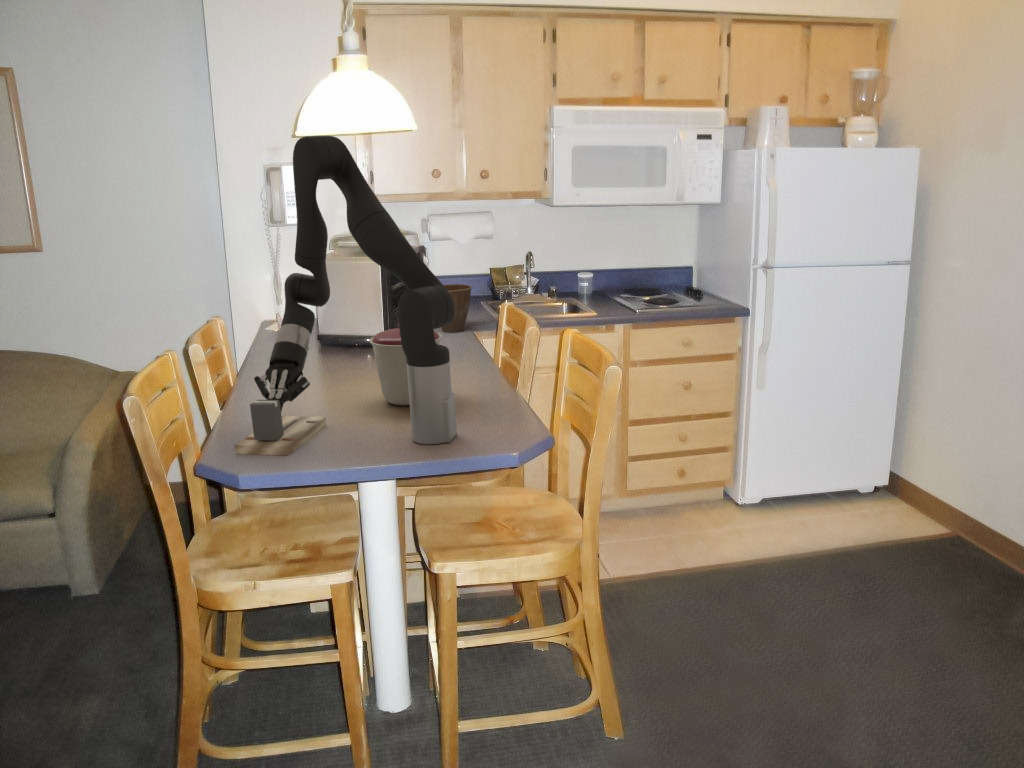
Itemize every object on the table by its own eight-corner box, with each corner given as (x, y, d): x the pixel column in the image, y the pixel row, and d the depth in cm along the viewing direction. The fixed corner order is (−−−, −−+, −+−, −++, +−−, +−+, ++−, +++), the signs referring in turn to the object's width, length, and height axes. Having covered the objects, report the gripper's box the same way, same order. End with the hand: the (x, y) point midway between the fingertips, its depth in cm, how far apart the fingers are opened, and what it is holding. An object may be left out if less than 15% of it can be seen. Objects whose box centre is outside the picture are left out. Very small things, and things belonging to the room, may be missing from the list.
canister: (459, 396, 202) (455, 316, 196) (413, 414, 188) (407, 329, 182) (407, 387, 212) (401, 311, 206) (360, 404, 198) (352, 323, 192)
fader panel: (326, 425, 183) (325, 416, 182) (288, 455, 164) (287, 445, 163) (279, 423, 185) (277, 415, 184) (235, 453, 166) (234, 444, 165)
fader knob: (284, 435, 169) (279, 399, 167) (276, 440, 166) (272, 404, 164) (261, 434, 170) (257, 399, 168) (254, 440, 167) (249, 403, 164)
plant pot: (480, 331, 282) (478, 287, 278) (443, 336, 275) (440, 291, 271) (462, 325, 294) (459, 283, 290) (426, 330, 287) (423, 287, 283)
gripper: (257, 339, 175) (236, 408, 167) (312, 340, 173) (293, 409, 164) (271, 356, 182) (251, 423, 173) (324, 357, 179) (307, 425, 171)
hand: (272, 416), depth 169 cm, fingers closed
